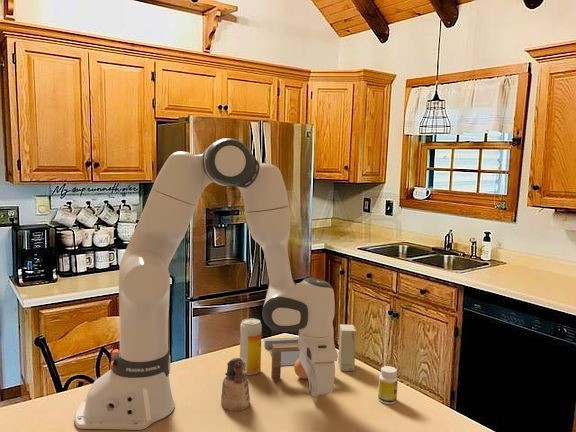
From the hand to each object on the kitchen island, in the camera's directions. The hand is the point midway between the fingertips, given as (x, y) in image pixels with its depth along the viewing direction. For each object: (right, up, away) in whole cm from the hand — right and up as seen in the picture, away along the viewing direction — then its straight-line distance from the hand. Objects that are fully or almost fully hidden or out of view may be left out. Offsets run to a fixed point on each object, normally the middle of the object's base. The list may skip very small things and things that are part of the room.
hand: (313, 394), depth 121 cm
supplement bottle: (+19, -2, +1) cm, 19 cm away
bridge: (-3, 0, +13) cm, 13 cm away
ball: (-2, +3, +12) cm, 13 cm away
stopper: (-7, +2, +35) cm, 36 cm away
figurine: (-20, -2, -3) cm, 20 cm away
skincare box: (+11, 0, +21) cm, 24 cm away
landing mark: (-6, +1, +27) cm, 27 cm away
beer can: (-18, 0, +16) cm, 24 cm away
